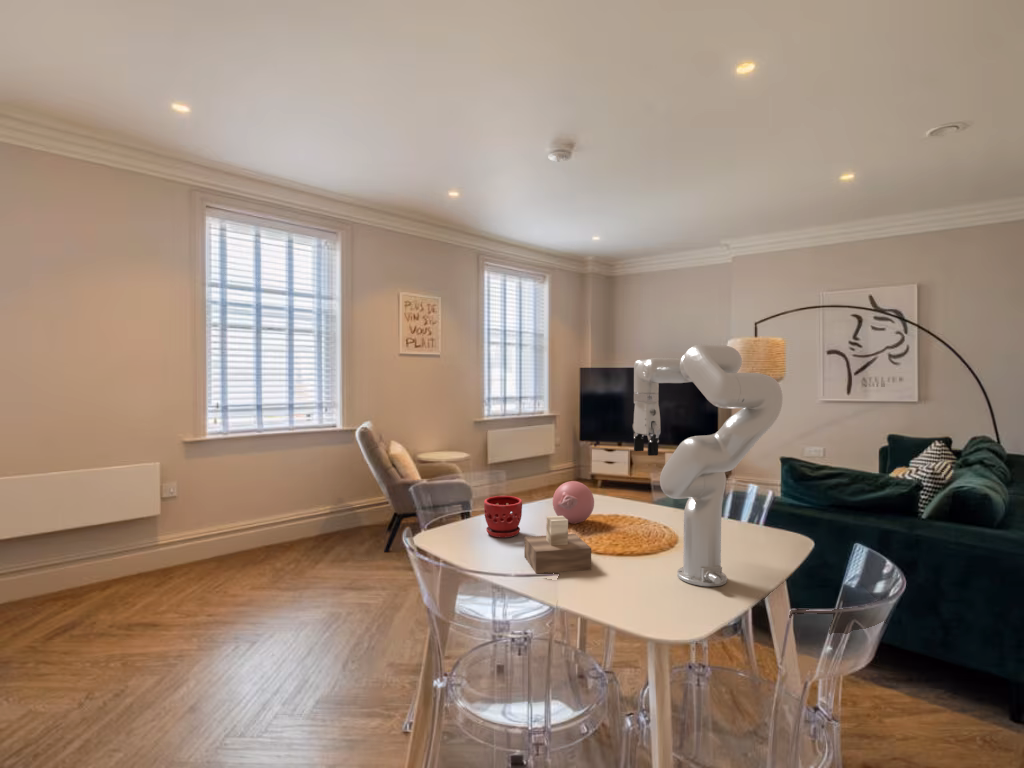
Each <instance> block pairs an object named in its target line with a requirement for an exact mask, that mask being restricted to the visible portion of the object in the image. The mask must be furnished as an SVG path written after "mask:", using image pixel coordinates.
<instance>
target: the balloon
mask: <svg viewBox="0 0 1024 768" xmlns="http://www.w3.org/2000/svg"><path fill="white" fill-rule="evenodd" d="M552 507H553V511H554V512H555V514H556V516H564V517H565V518H566V519H567V520H568V524H580V523H582V522H584V521H585V520H587V519H589V517H590V516H591V515H592V513H593V511H594V508H595V498H594V495H593V492H592V490H590V488H589V487H588V486H587V485H585V484H584V483H582V482H580V481H577V480H571V481H570V480H569V481H566V482H564V483H561V484H560V485H559V486H558V487H557V488H556V489H555V491H554V493H553V497H552Z"/></svg>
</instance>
